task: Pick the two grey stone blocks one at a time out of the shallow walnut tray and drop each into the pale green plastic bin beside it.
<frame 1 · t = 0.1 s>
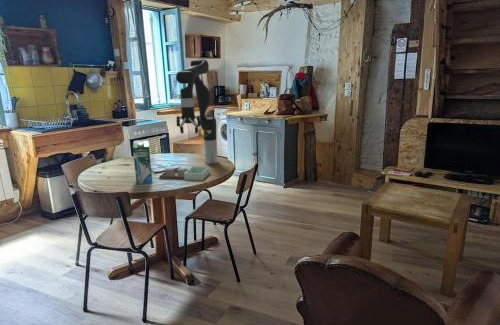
hand: (189, 133, 209), 29 cm above the table, fingers open, 8 cm apart
stone b: (170, 175, 225), point 1 cm above the table, touching tray
tray: (176, 176, 225), on the table
bin: (197, 177, 222), on the table
milk carton: (144, 182, 214), on the table
stone a: (182, 175, 224), point 1 cm above the table, touching tray
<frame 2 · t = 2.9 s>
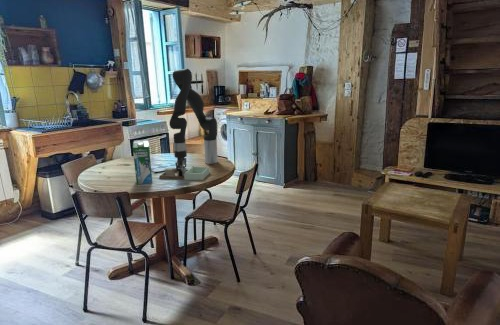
hand: (182, 175, 224), 1 cm above the table, fingers closed on stone a, 4 cm apart
stone a: (182, 175, 224), point 1 cm above the table, touching gripper, tray
everything else where it was.
when the fingers open (4 cm above the table, at t = 15.1 s): stone a stays where it is, resting on bin.
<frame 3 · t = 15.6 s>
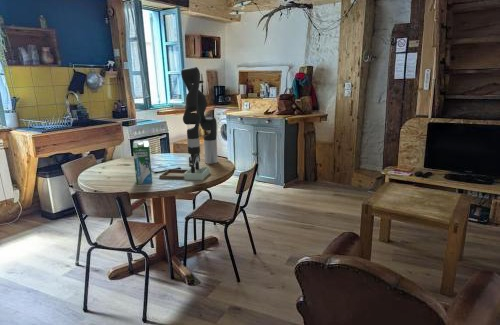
hand: (195, 171, 217), 5 cm above the table, fingers open, 8 cm apart
stone b: (195, 177, 218), point 1 cm above the table, touching bin
stone a: (199, 174, 225), point 1 cm above the table, touching bin
everything else where it was.
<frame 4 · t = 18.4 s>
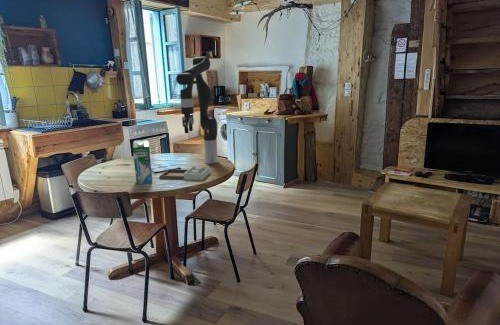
hand: (188, 132, 220), 28 cm above the table, fingers open, 8 cm apart
nothing on the table moved.
at the end: stone a inside the target area on the bin (3.5 cm from its centre), point 0.6 cm above the bin's base; stone b inside the target area on the bin (3.5 cm from its centre), point 0.6 cm above the bin's base; the gripper is holding nothing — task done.
